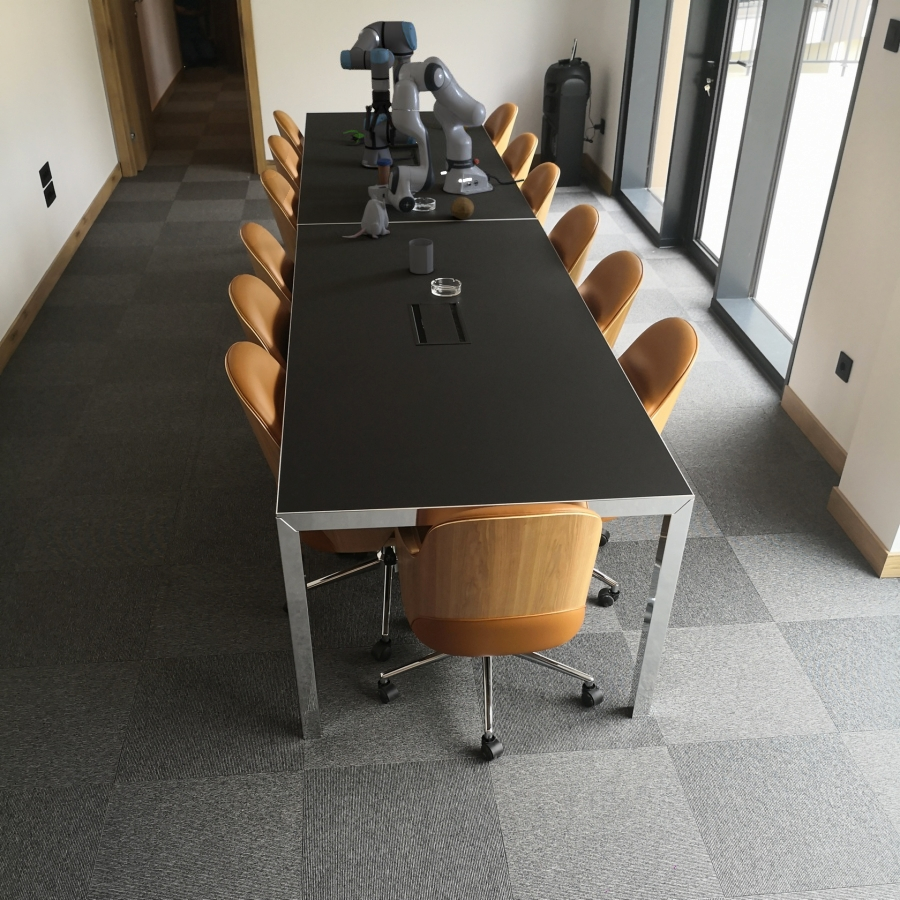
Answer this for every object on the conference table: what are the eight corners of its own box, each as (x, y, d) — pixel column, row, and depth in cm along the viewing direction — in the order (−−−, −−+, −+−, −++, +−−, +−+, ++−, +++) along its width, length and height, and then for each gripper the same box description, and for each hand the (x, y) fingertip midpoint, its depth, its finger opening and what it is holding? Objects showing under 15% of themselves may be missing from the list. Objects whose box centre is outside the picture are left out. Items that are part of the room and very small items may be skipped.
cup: (409, 265, 311) (408, 238, 306) (432, 265, 312) (431, 238, 307) (410, 274, 304) (409, 246, 299) (433, 273, 305) (433, 246, 299)
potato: (472, 212, 364) (472, 193, 359) (475, 223, 352) (475, 203, 348) (449, 213, 363) (449, 193, 359) (451, 223, 351) (451, 204, 347)
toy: (395, 233, 341) (394, 195, 333) (350, 248, 327) (348, 209, 318) (380, 228, 346) (378, 190, 338) (334, 242, 332) (332, 203, 324)
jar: (378, 195, 385) (377, 160, 377) (390, 194, 386) (388, 159, 377) (379, 198, 381) (378, 163, 372) (391, 198, 381) (390, 162, 373)
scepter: (398, 127, 467) (342, 124, 464) (398, 142, 460) (341, 139, 457) (398, 136, 472) (342, 134, 469) (398, 151, 464) (341, 149, 462)
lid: (376, 162, 378) (375, 158, 377) (390, 161, 378) (389, 158, 378) (377, 166, 373) (377, 162, 372) (391, 165, 373) (391, 161, 373)
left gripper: (399, 86, 366) (401, 142, 378) (354, 90, 358) (357, 147, 370) (407, 89, 360) (408, 145, 373) (361, 93, 352) (364, 151, 365)
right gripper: (419, 184, 366) (410, 175, 377) (372, 188, 361) (364, 180, 372) (420, 199, 370) (410, 190, 381) (373, 203, 364) (365, 194, 375)
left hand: (383, 146), depth 372 cm, fingers open, 8 cm apart
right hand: (387, 185), depth 376 cm, fingers open, 8 cm apart
